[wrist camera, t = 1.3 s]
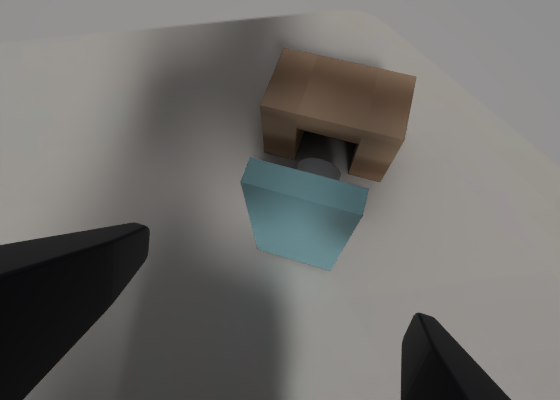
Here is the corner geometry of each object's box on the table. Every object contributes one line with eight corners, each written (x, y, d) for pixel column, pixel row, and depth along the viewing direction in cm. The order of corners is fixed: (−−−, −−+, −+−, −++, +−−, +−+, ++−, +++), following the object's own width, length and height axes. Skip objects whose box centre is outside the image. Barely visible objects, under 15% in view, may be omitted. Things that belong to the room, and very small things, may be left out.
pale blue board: (329, 271, 22) (362, 215, 13) (257, 250, 23) (240, 181, 14) (349, 190, 25) (390, 93, 15) (284, 172, 25) (284, 69, 16)
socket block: (380, 182, 25) (404, 140, 20) (264, 151, 26) (260, 104, 21) (391, 127, 27) (416, 76, 22) (283, 101, 28) (283, 47, 23)
